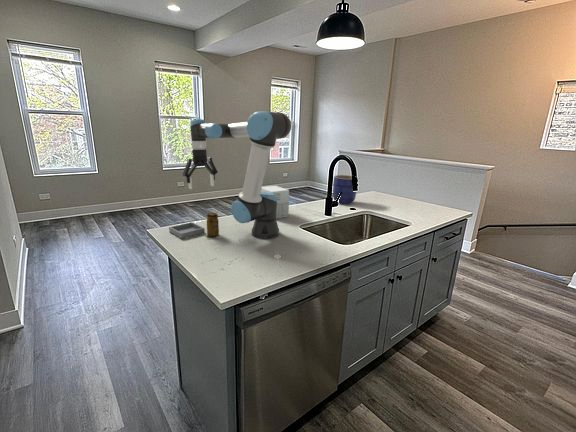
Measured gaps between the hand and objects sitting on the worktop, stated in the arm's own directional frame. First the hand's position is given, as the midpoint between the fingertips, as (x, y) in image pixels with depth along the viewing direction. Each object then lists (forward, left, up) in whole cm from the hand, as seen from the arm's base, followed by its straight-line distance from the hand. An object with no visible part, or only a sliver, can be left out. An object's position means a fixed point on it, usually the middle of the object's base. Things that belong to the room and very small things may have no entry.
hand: (201, 187), depth 168 cm
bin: (-6, +14, -22) cm, 27 cm away
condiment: (-19, +6, -23) cm, 30 cm away
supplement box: (-12, -45, -23) cm, 52 cm away
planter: (-24, -110, -23) cm, 115 cm away
